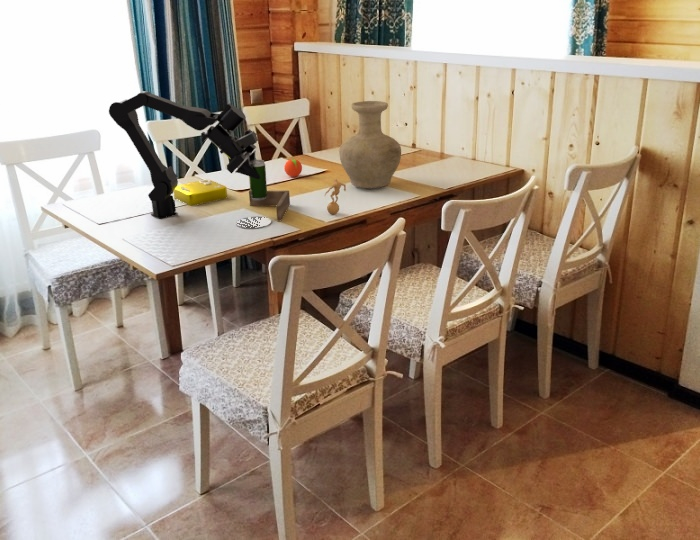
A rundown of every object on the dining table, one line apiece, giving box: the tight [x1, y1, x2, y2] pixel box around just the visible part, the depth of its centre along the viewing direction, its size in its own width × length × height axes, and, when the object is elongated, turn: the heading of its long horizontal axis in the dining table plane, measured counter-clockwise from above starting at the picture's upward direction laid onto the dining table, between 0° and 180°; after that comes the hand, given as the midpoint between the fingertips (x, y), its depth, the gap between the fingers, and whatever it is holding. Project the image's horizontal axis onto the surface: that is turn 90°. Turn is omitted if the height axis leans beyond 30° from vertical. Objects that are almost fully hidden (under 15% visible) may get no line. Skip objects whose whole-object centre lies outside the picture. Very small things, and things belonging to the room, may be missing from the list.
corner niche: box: [248, 190, 291, 221], centre depth 226 cm, size 14×18×5 cm
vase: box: [338, 100, 402, 189], centre depth 248 cm, size 22×22×30 cm
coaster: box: [236, 216, 268, 228], centre depth 217 cm, size 11×11×1 cm
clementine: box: [284, 158, 303, 178], centre depth 267 cm, size 8×7×7 cm
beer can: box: [248, 159, 268, 200], centre depth 220 cm, size 5×5×12 cm
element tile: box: [173, 179, 228, 206], centre depth 245 cm, size 15×15×5 cm
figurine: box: [324, 178, 347, 215], centre depth 221 cm, size 8×6×12 cm
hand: (261, 176), depth 219 cm, fingers closed on beer can, 5 cm apart
